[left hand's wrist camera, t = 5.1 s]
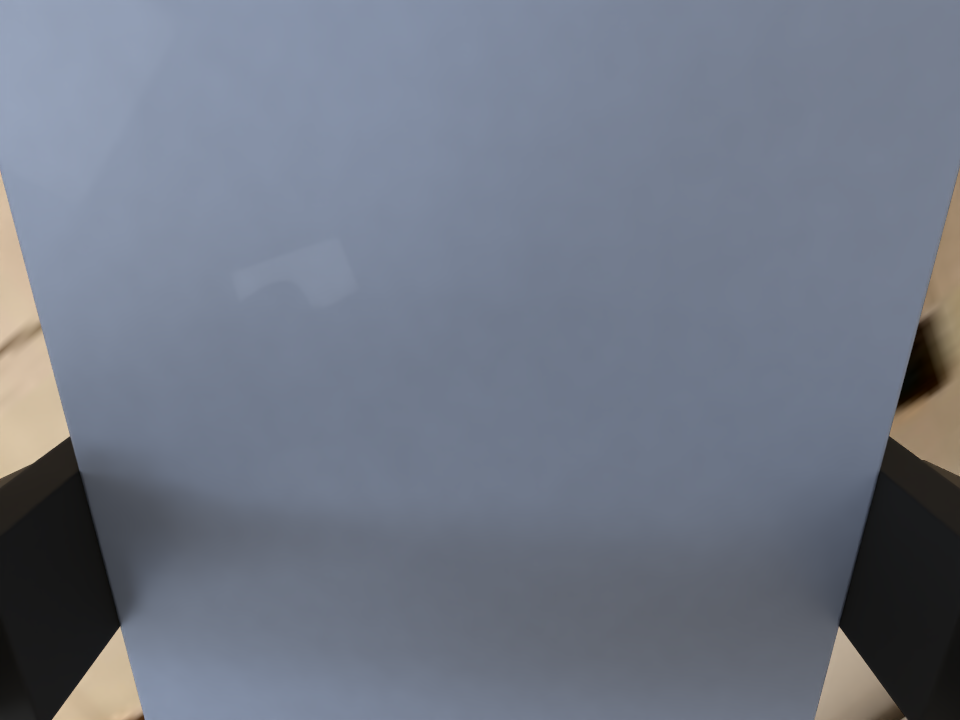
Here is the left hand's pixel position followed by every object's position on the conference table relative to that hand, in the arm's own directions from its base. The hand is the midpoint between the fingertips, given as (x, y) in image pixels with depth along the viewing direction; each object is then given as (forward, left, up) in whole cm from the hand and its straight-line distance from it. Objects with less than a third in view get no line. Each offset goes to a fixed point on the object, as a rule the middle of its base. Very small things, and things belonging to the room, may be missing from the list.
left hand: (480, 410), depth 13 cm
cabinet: (+6, +1, -5) cm, 8 cm away
